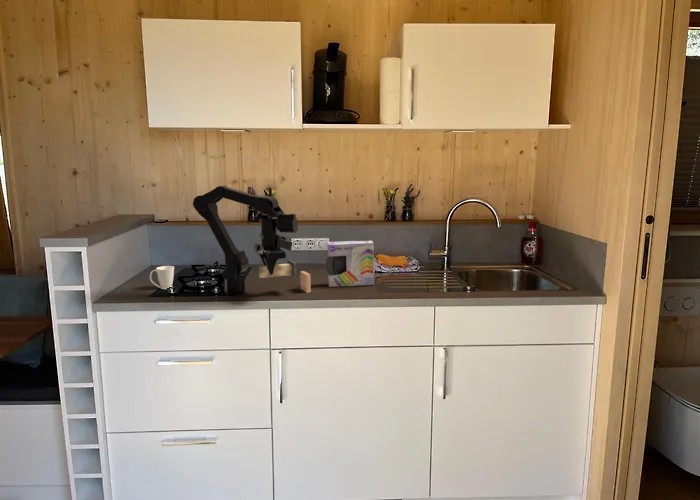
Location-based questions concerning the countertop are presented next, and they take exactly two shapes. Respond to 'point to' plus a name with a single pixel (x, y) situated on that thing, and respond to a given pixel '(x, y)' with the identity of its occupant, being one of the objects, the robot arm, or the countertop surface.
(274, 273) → the beige block with plate
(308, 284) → the tile
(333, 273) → the cake pan box
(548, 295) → the countertop surface
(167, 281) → the cup
